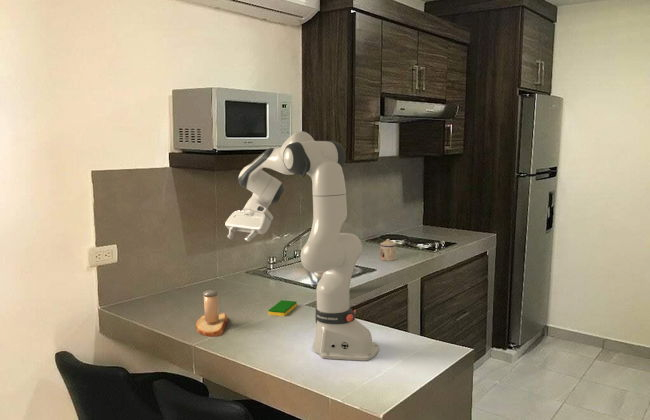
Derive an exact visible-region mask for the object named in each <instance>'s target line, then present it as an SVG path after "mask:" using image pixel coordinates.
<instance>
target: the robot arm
mask: <svg viewBox="0 0 650 420" xmlns="http://www.w3.org/2000/svg"><path fill="white" fill-rule="evenodd" d="M283 142H284V143H282V145H281V146H278V147H274V148H273V147H270V148H267V149H266V150H264V152H262V153H261V154H260V155H258V156H257V157H256V158H255V159H253V161H251V162H249V164H247V165H246V166H244V167H243V168H242V170H240V172H239V175H238V177H237V179H238V184H239V185H240V187H241V188H243V189H245V190H248V191H250V192H251V193H252V196H251V197H250V198H249V199H248V200H247V202H246V203H245V205H244V207H243V208H242V209H237V210H235V211H233V212H232V213H231V214H230V215H229V217H228V218H227V219H226V221H224V223H225V224H224V225H225V227H226V229H228V234H227V238H228V239H229V240H233V238H234V237H235V236H234V233H235V232H243V233H249V234H247V235H246V236H245V238H244V240H245V241H246V242H251V240H252V239H253V238H255V237H256V236H257V235H265V234H266V233H267V232H268V230H269V228H270V226H271V223H272V221H273V219H274V216H273V214H272V213H271V212H270V210H269V207H270V205H274V204H277V203H278V202H279V201H280V198H281V196H282V194H283V193H284V192H285V188H284V184H283V182H282V181H280V180H279V179H278V178H276V177H274V176H273V175H270V174H269V173H268V172H266V171H264V170H263V169H264V168H265V169H268V170H273V171H275V172H277V173H281V174H283V175H288V176H290V175H291V176H292V175H297V176H299V177H301V178H304V177H305V176H309V177H310V179H311V182H312V187H311V188H312V209H313V211H312V213H313V214H312V215H313V216H312V225H311V229H310V233H309V236H308V239H307V241H306V243H305V244H304V246H303V247H302V248H301V251H300V261H301V264H302V266H303V268H304V269H305V271H307V272H310V273H316V274H317V273H322V276H321V278H320V280H319V281H317V282H318V283H317V285H316V308H315V313H314V314H315V315H314V318H315V324H316V326H315V334H314V335H315V336H314V341H313V345H312V350H313V351H314V352H315V353H316V354H318V355H319V356H320V357H321V358H322V359H327V360H328V359H329V360H346V361H347V360H348V361H364V362H365V361H369V360H372V359H373V358H375V357H376V355H378V352H379V351H380V348H379V344H378V343H377V342H375V341H373V337H372V334H371V331H370V329H369V328H368V327H366V326H365V325H363V324H362V323H361V322H360V321H359V320H357V319H356V313H357V312H356V308H355V309H354V310H353V309H352V308H351V307H350V288H351V280H352V277H353V273H354V269H355V266H356V263H357V262H358V260H359V259H360V257H361V255H362V254H363V244H362V241H361V238H359V237H358V235H356V234H354V233H348V232H341V229H342V226H343V224H344V222H346V220H347V216H348V207H347V206H348V205H347V203H348V202H347V189H346V181H345V176H344V172H343V167H344V165H345V162H346V159H347V158H346V157H347V156H346V150H345V148H344V146H343V145H342V143H340V142H337V141H334V140H314V138H313V137H312V136H311V134H310V133H308V132H306V131H302V130H301V131H299V130H298V131H296V132H293V133H292V134H291V135H290V136H289V137H288V138H287V139H286V140H285V141H283Z"/></svg>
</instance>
